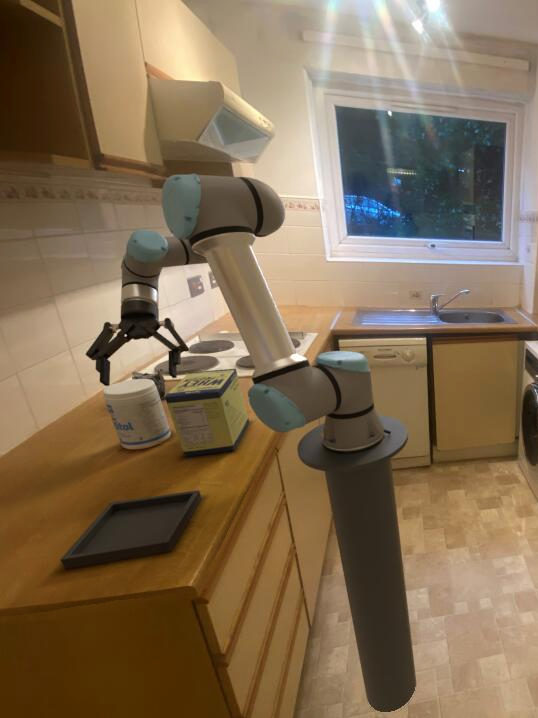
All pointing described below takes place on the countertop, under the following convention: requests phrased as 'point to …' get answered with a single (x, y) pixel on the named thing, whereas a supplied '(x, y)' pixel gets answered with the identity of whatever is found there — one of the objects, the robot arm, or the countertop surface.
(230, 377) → the protein box
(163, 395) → the grey furry lump
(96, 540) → the pad
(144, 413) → the supplement tub
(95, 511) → the countertop surface
